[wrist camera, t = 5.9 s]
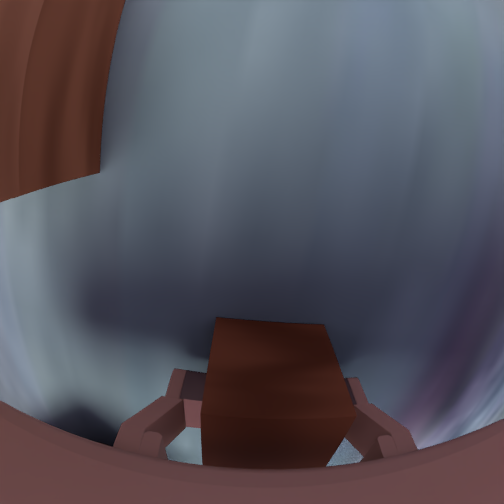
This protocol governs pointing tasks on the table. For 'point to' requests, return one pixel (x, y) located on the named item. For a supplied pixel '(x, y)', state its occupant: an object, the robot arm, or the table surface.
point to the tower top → (13, 84)
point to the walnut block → (273, 397)
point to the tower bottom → (66, 91)
